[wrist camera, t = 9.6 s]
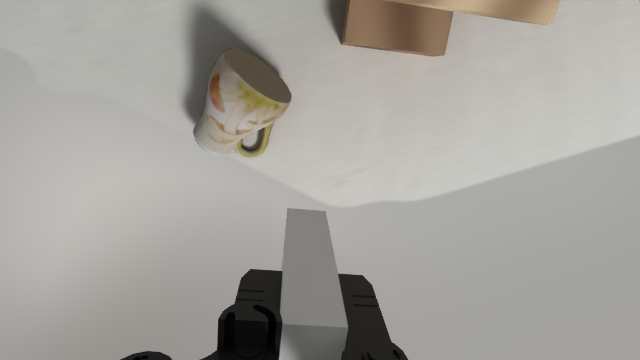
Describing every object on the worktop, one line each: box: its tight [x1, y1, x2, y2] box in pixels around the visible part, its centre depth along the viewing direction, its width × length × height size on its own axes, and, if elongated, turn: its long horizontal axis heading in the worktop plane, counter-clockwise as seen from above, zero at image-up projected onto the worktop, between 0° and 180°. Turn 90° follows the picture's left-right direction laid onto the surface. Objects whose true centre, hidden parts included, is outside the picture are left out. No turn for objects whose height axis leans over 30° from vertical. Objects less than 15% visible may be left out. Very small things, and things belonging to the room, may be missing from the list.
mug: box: [193, 48, 291, 158], centre depth 33 cm, size 8×10×10 cm
